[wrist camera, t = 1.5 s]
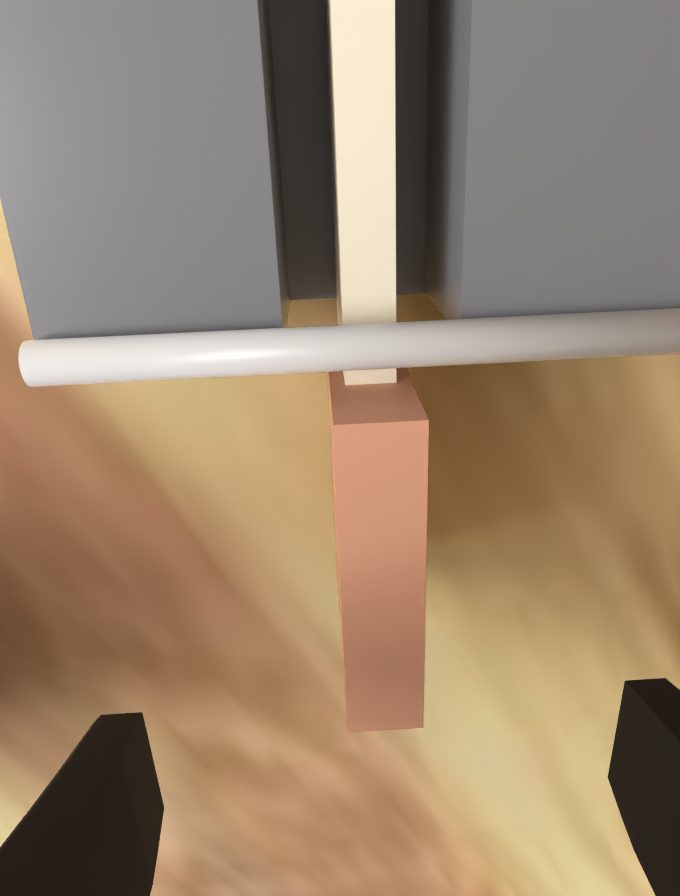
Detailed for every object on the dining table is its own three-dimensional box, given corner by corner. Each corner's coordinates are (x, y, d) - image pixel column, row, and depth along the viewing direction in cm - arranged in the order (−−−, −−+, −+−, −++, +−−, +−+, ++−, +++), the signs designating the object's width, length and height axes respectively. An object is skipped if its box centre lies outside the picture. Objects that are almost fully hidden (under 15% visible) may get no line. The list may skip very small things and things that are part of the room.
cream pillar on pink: (393, 580, 19) (423, 727, 14) (337, 583, 18) (347, 732, 14) (387, -470, 10) (454, -1006, 6) (285, -467, 10) (265, -1006, 5)
